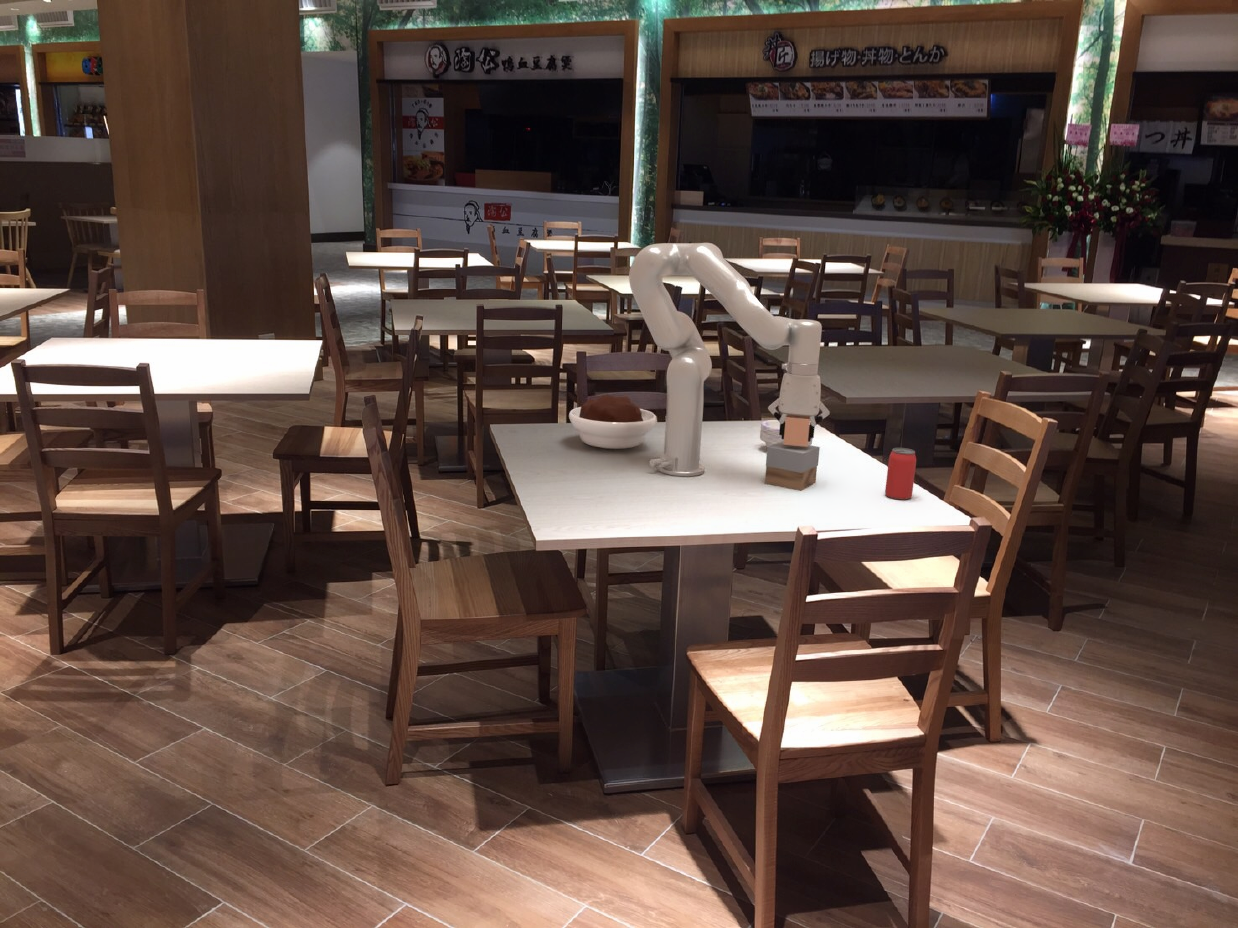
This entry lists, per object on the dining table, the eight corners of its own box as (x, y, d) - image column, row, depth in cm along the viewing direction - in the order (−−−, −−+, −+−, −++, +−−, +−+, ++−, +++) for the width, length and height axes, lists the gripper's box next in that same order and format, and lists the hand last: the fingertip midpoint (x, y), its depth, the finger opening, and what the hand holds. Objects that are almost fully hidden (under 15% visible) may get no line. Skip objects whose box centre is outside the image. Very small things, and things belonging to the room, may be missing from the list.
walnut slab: (801, 492, 259) (803, 473, 257) (764, 485, 263) (766, 466, 262) (815, 483, 267) (817, 465, 266) (779, 477, 272) (781, 458, 271)
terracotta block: (783, 444, 260) (785, 417, 258) (784, 439, 265) (786, 413, 264) (807, 446, 259) (809, 419, 257) (807, 441, 264) (810, 415, 263)
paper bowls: (822, 454, 298) (824, 427, 296) (783, 459, 290) (786, 432, 288) (786, 443, 310) (788, 417, 308) (748, 447, 302) (750, 421, 300)
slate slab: (801, 473, 257) (803, 453, 256) (765, 465, 263) (767, 446, 261) (817, 465, 265) (819, 446, 264) (782, 458, 271) (784, 440, 269)
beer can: (882, 492, 261) (887, 446, 258) (908, 493, 261) (913, 448, 258) (887, 499, 254) (893, 452, 251) (914, 501, 254) (920, 454, 251)
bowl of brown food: (610, 432, 313) (613, 383, 309) (672, 448, 296) (675, 397, 293) (550, 443, 296) (551, 391, 292) (611, 461, 279) (614, 406, 275)
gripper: (767, 369, 255) (761, 439, 260) (837, 374, 252) (830, 445, 257) (768, 364, 262) (762, 433, 267) (837, 370, 259) (830, 439, 264)
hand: (796, 438), depth 262 cm, fingers closed on terracotta block, 6 cm apart
